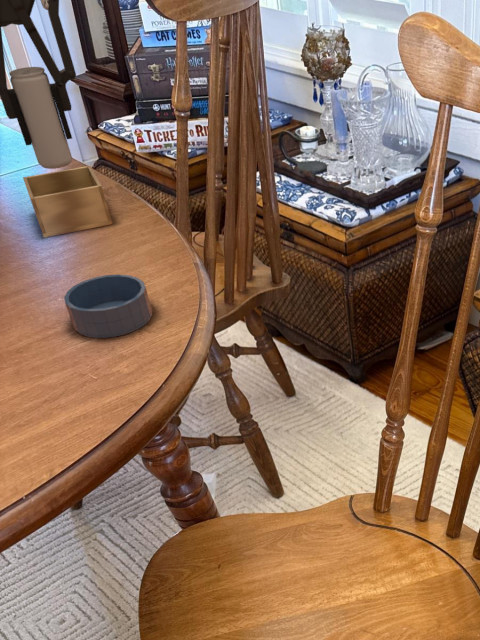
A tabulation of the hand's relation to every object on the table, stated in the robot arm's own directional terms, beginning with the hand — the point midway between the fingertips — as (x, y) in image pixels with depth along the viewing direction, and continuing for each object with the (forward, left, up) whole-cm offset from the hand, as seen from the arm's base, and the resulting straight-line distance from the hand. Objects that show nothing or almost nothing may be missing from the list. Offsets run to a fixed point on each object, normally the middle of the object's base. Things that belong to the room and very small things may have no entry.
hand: (48, 138), depth 111 cm
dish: (+26, -24, -11) cm, 37 cm away
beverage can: (0, 0, -4) cm, 4 cm away
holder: (0, 0, -11) cm, 11 cm away
